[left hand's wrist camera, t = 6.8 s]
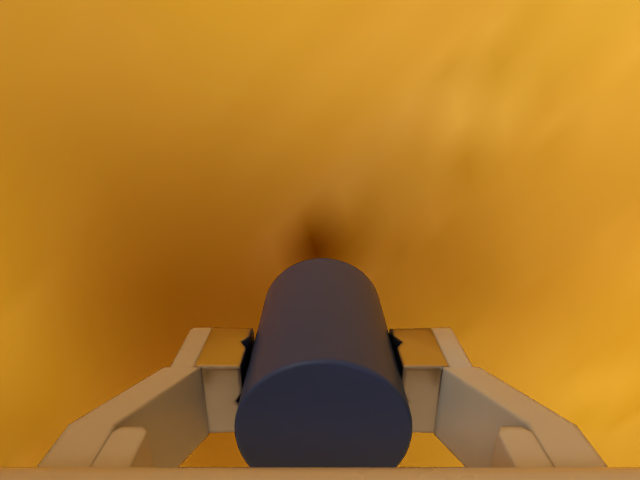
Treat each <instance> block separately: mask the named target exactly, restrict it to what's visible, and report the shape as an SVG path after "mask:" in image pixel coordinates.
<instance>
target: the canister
mask: <svg viewBox="0 0 640 480" xmlns="http://www.w3.org/2000/svg"><path fill="white" fill-rule="evenodd" d="M412 428H413V426H412V416H411V412H410V408H409V404H408V401H407V397H406V394H405V390H404V386H403V383H402V379H401V376H400V372H399V369H398V365H397V361H396V358H395V354H394V351H393V347H392V343H391V340H390V336H389V333H388V329H387V326H386V322H385V318H384V315H383V311H382V308H381V304H380V300H379V297H378V294H377V291H376V289H375V287H374V285H373V284H372V282H371V281H370V280H369V278H368V277H367V276H366V275H365V274H364V273H363V272H361V271H360V270H358V269H357V268H356V267H354V266H352V265H350V264H348V263H345V262H343V261H339V260H335V259H327V258H317V259H310V260H306V261H302V262H300V263H297V264H295V265H293V266H291V267H289V268H288V269H286V270H285V271H283V272H282V273H281V274H280V275H279V276H278V277H277V278H276V279H275V280H274V282H273V283H272V285H271V286H270V288H269V290H268V293H267V295H266V299H265V303H264V307H263V311H262V315H261V319H260V323H259V326H258V330H257V334H256V338H255V342H254V346H253V350H252V354H251V358H250V361H249V365H248V369H247V373H246V377H245V381H244V385H243V389H242V393H241V396H240V400H239V404H238V408H237V412H236V416H235V424H234V429H235V437H236V441H237V445H238V448H239V450H240V453H241V455H242V456H243V458H244V460H245V461H246V463H247V464H248V465H249V466H250V467H397V466H398V465H399V464H400V462H401V461H402V459H403V458H404V456H405V454H406V452H407V450H408V448H409V444H410V441H411V437H412Z"/></svg>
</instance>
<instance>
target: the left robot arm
mask: <svg viewBox="0 0 640 480" xmlns="http://www.w3.org/2000/svg"><path fill="white" fill-rule="evenodd" d="M389 336H390V340H391V343H392V347H393V351H394V354H395V358H396V361H397V365H398V369H399V372H400V376H401V379H402V383H403V386H404V390H405V394H406V397H407V401H408V404H409V408H410V412H411V416H412V426H413V428H412V432H426V433H434V435H435V436H436V437H437V438H438V439H439V440H440V441H441V442H442V443H443V444H444V445H445V446H446V447H447V448H448V449H449V450H450V451H451V452H452V453H453V454H454V455H455V456H456V458H457V459H458V460H459V461H460V462H461V463H462V464H463V465H464V466H465V467H178V466H179V465H180V464H181V463H182V462H183V461H184V460H185V459H186V458H187V457H188V456H189V455H190V454H191V453H192V452H193V451H194V450H195V449H196V448H197V447H198V446H199V445H200V443H201V442H202V441H203V440H204V439H205V438H206V437H207V436H208V435H209V433H217V432H235V429H234V424H235V416H236V412H237V408H238V404H239V400H240V396H241V393H242V389H243V385H244V381H245V377H246V373H247V369H248V365H249V361H250V358H251V354H252V350H253V346H254V342H255V340H254V331H253V329H252V328H212V327H202V328H192V329H191V330H190V331H189V333H188V335H187V337H186V339H185V341H184V343H183V344H182V346H181V348H180V350H179V352H178V354H177V355H176V357H175V359H174V361H173V363H172V365H171V367H164V368H162V369H160V370H159V371H157V372H155V373H154V374H152V375H150V376H149V377H147V378H145V379H144V380H142V381H140V382H139V383H137V384H135V385H134V386H132V387H130V388H129V389H127V390H125V391H124V392H122V393H121V394H119V395H117V396H116V397H114V398H112V399H111V400H109V401H107V402H106V403H104V404H102V405H101V406H99V407H97V408H96V409H94V410H92V411H91V412H89V413H87V414H86V415H84V416H82V417H81V418H79V419H77V420H76V421H74V422H72V423H71V424H69V425H68V426H67V428H66V429H65V430H64V431H63V433H62V434H61V435H60V437H59V438H58V439H57V441H56V442H55V443H54V445H53V446H52V447H51V449H50V450H49V451H48V453H47V454H46V455H45V457H44V458H43V459H42V461H41V462H40V463H39V465H38V466H37V467H0V480H640V467H608V466H607V465H606V464H605V462H604V461H603V460H602V459H601V457H600V456H599V455H598V453H597V452H596V451H595V449H594V448H593V447H592V445H591V444H590V443H589V441H588V440H587V439H586V437H585V436H584V435H583V433H582V432H581V431H580V429H579V428H578V427H577V426H576V425H575V424H573V423H571V422H570V421H568V420H566V419H565V418H563V417H561V416H560V415H558V414H556V413H555V412H553V411H551V410H550V409H548V408H546V407H545V406H543V405H541V404H540V403H538V402H536V401H535V400H533V399H531V398H530V397H528V396H526V395H525V394H523V393H521V392H520V391H518V390H516V389H515V388H513V387H511V386H510V385H508V384H506V383H505V382H503V381H501V380H500V379H498V378H496V377H495V376H493V375H491V374H490V373H488V372H486V371H485V370H483V369H481V368H480V367H473V366H472V364H471V362H470V361H469V359H468V357H467V355H466V353H465V352H464V350H463V348H462V346H461V344H460V343H459V341H458V339H457V337H456V336H455V334H454V332H453V330H452V329H451V328H449V327H440V328H412V329H390V331H389Z"/></svg>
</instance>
